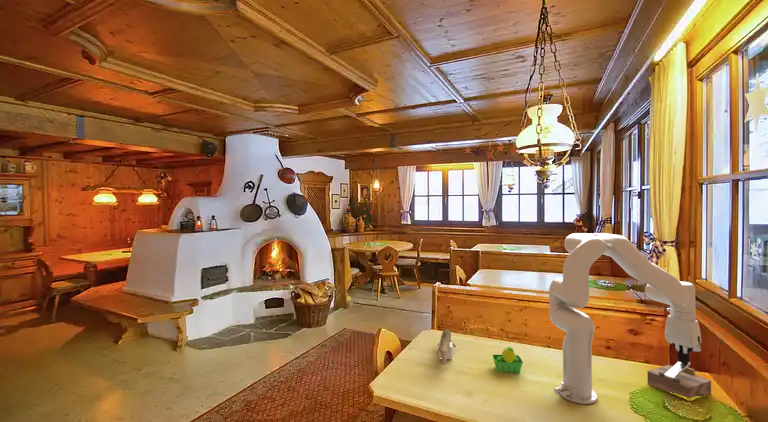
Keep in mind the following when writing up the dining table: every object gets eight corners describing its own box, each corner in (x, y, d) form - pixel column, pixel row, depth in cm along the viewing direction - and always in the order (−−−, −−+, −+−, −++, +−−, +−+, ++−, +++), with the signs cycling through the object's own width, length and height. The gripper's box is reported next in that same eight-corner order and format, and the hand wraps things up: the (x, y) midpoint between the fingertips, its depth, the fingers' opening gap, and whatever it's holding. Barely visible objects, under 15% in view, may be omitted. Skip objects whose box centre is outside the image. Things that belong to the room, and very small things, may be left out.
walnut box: (689, 402, 127) (689, 383, 126) (647, 383, 140) (647, 366, 139) (711, 393, 131) (711, 375, 131) (668, 376, 144) (668, 360, 144)
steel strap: (672, 380, 132) (672, 378, 132) (664, 376, 135) (663, 374, 134) (690, 364, 136) (689, 362, 135) (681, 361, 138) (680, 359, 138)
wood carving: (433, 376, 150) (432, 349, 150) (438, 343, 184) (438, 322, 184) (455, 377, 148) (454, 351, 148) (456, 344, 183) (455, 322, 182)
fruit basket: (518, 366, 157) (518, 340, 157) (524, 376, 148) (524, 349, 148) (492, 365, 158) (491, 340, 158) (496, 375, 150) (496, 348, 149)
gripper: (655, 310, 141) (656, 356, 142) (700, 321, 127) (701, 372, 128) (667, 307, 144) (668, 352, 145) (712, 318, 130) (713, 368, 131)
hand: (683, 361), depth 136 cm, fingers closed
